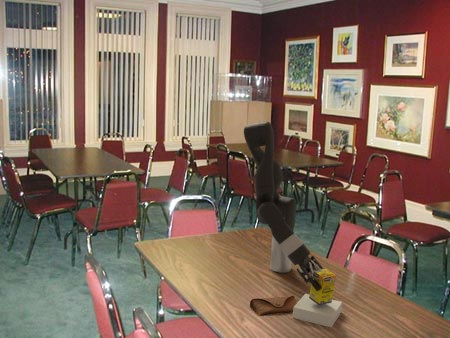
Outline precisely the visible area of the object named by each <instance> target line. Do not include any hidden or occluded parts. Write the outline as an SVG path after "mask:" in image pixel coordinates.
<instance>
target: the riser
mask: <svg viewBox="0 0 450 338" xmlns="http://www.w3.org/2000/svg"><path fill="white" fill-rule="evenodd" d="M309 295H310V293H308V294H307V293H305V294H304V295H303V296H302V297H301V298H300V299H299V300H298V302H296V303H297V304H296V305H295V306H294V307H293V312H292V319H296V320H300V321H303V322H304V321H305V322H308V323H312V324H316V325H321V326H325V327H327V328H328V327H329V328H332V327H333V326H334V324H335V322H336V321H337V320H338V318H339V317H340V315H341V314H342V312H343V311H342V309H343V301H340V300H334V299H332V302H331V303H327V304H323V305H320V306H319V305H318V304H316V303H315V302H314V301H312V300H311V299H310V298H309ZM340 313H341V314H340Z"/></svg>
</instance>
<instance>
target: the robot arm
mask: <svg viewBox="0 0 450 338" xmlns="http://www.w3.org/2000/svg"><path fill="white" fill-rule="evenodd" d="M243 137H244V140H245V142H246V145H247V147H248V150H249V152H250V154H251V156H252V158H253V160H254V164H255V167H256V170H255V175H254V183H255V184H254V185H255V194H256V195H255V196H256V200H255V214H256V218H257V221H258V222H260V224H263V225H268V227H269V228H270V231H271V233H270V234H271V236H272V237H271V251H270V252H271V253H270V264H269V265H270V266H269V268H270V270H271V271H273V272H276V273H281V274H282V273H289V272H291V270H292V264H293V265H294V266H297V265H298V267H297V268H296V272H297V273H298V274H299V275H300V277H301V278H302V280H304V282H305V283H306V284H308V283H309V284H310V285H311V284H312V286H313V287H314V288H315V290H316V291H319V290H320V289H321V288H322V287H321V286H320V284H319V283H318V282H317V280H316V279H315V277H314V271H317V270H322V269H324V268H323V266H322V265H321V263H319V261H318V260H317V259H316V258H315V256H314V255H311V251H310V250H309V249H308V247H307V246H306V245H305V243H304V242H303V240H302V239H301V238H300V237H299V236H298V235H297V234H296V233H295V232H294V231H295V229H294V228H295V225H296V215H297V206H298V205H297V204H298V203H297V200H296V199H295V198H294V197H289V196H284V195H283V196H282V195H280V194H279V192H278V189H279V188H280V185H282V181H283V178H284V176H283V175H284V174H283V172H282V169H281V166H280V163H279V161H277V160H276V159H275V158H274V154H275V153H274V152H275V150H274V149H275V133H274V128H273V126H272V124H271V122H270V121H261V122H255V123H250V124H247V125H245V126H244V127H243ZM264 146H265V148H264V150H263V149H262V148H261V147H264ZM309 255H311V256H310V257H309Z"/></svg>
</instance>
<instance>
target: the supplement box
mask: <svg viewBox="0 0 450 338" xmlns="http://www.w3.org/2000/svg"><path fill="white" fill-rule="evenodd" d="M314 277H315V279H316V280H317V282H318V283H319V284H320V286H321V287H322V288H321V289H320V290H319V291H316V290H315V288H314V287H313V286H312V284H311V283H310V289H309V298H310V299H311V300H312V301H314V302H315V303H316V304H318V305H319V306H320V305H323V304H327V303H331V302H332V300H333V297H334V290H335V284H336V278H337V275H336V274H335V273H333V272H331V271H330V270H329V269H327V268H323V269H322V270H317V271H314Z"/></svg>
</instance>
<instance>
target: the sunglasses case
mask: <svg viewBox="0 0 450 338" xmlns="http://www.w3.org/2000/svg"><path fill="white" fill-rule="evenodd" d="M297 303H298V302H297V301H296V298H295V296H294V295H289V296H278V297H276V296H275V297H263V298H252V299H250V302H249V308H250V309H251V310H252V311H253V312H254V314H256V315H257V316H260V317H261V316H265V315H266V316H267V315H277V314H278V313H279V314H288V313H289V314H290V312H291V313H293V307H294V306H295V305H296V304H297Z"/></svg>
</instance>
